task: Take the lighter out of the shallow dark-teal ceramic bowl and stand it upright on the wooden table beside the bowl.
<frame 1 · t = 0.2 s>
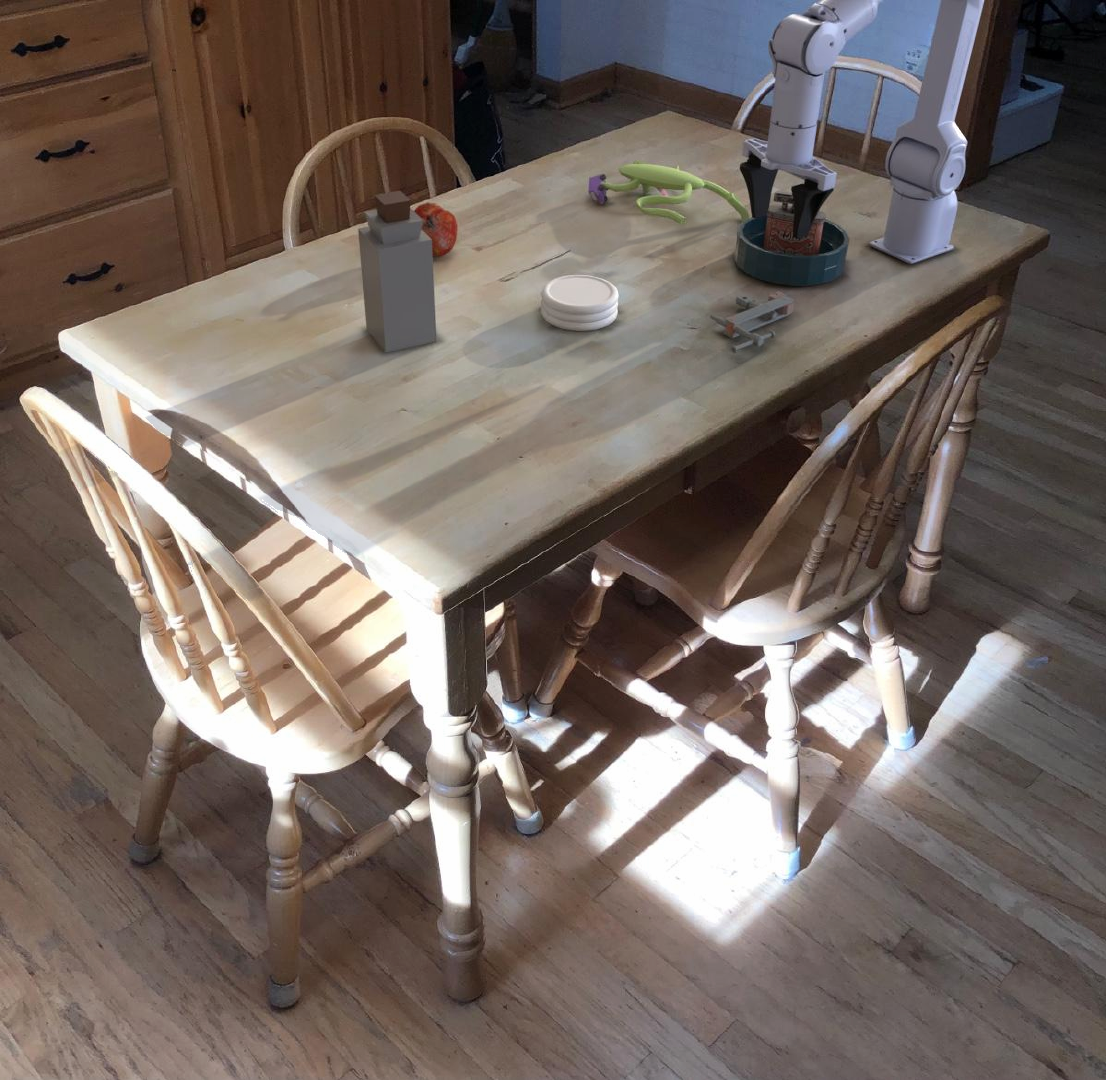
hand: (779, 226, 158), 10 cm above the table, tool pointing down, fingers open, 7 cm apart
clamp: (748, 329, 157), on the table
lighter: (789, 263, 173), resting on bowl
coaster: (579, 316, 159), on the table
bowl: (788, 264, 173), on the table
figurine: (664, 210, 188), on the table
pomegranate: (432, 254, 174), on the table
perfume bottle: (401, 336, 154), on the table
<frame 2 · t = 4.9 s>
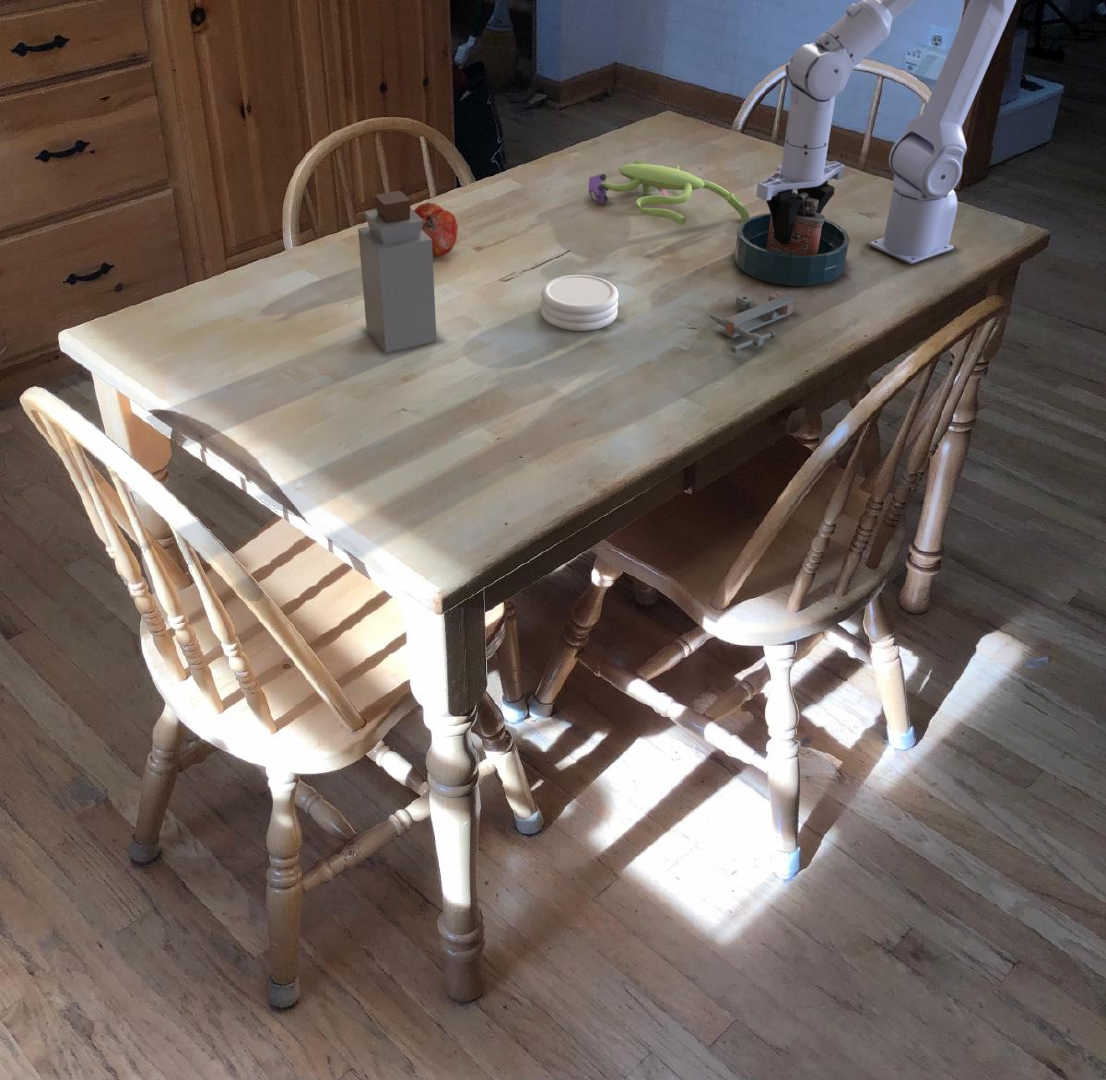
hand: (792, 238, 170), 4 cm above the table, tool pointing down, fingers closed on lighter, 4 cm apart
lighter: (789, 263, 172), resting on bowl, touching gripper
everything else where it was.
when the fingers open (4 cm above the table, at t = 10.1 s): lighter stays where it is, on the table.
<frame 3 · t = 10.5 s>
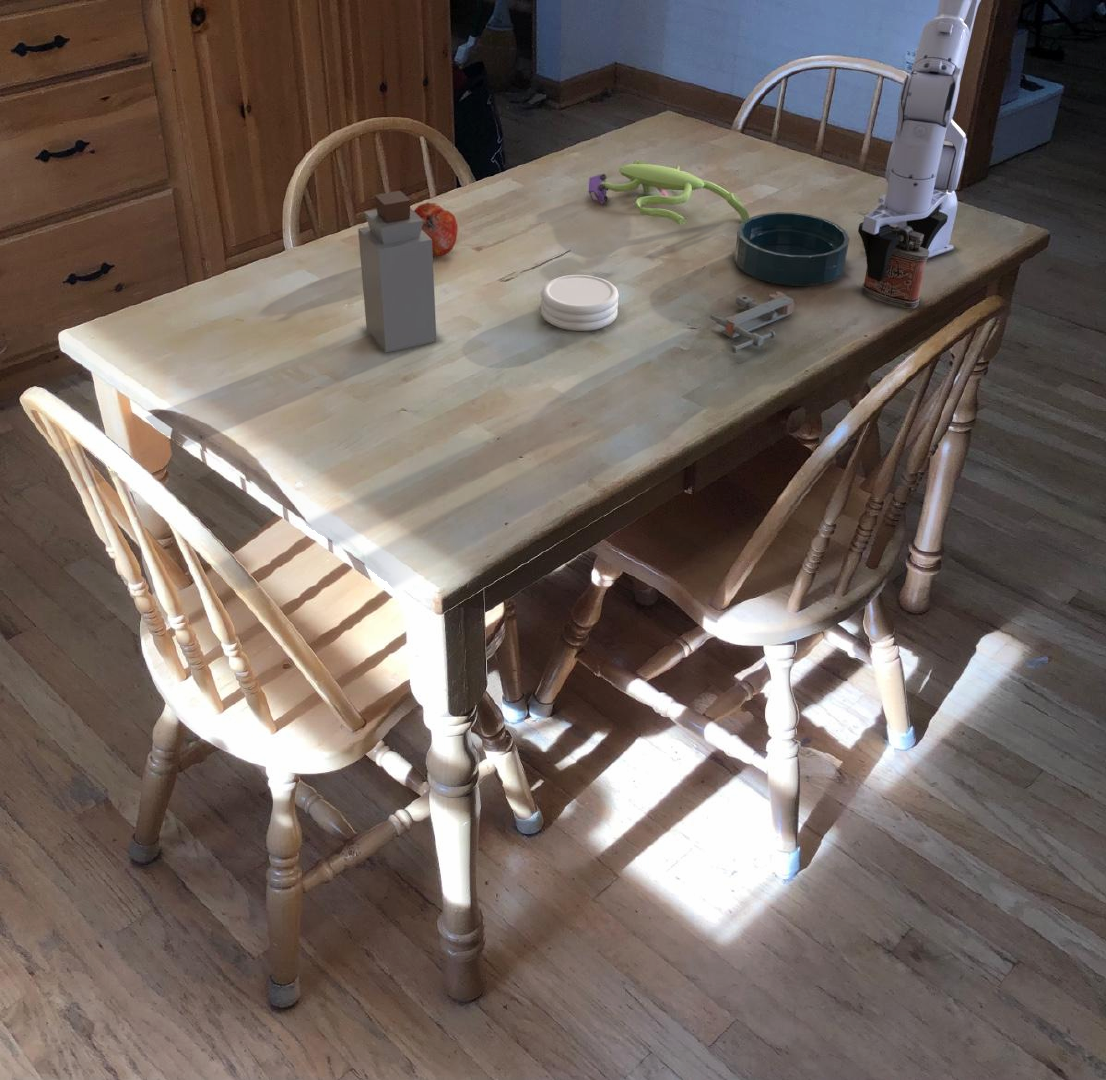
hand: (893, 271, 163), 4 cm above the table, tool pointing down, fingers open, 7 cm apart
lighter: (889, 298, 165), on the table
everything else where it was.
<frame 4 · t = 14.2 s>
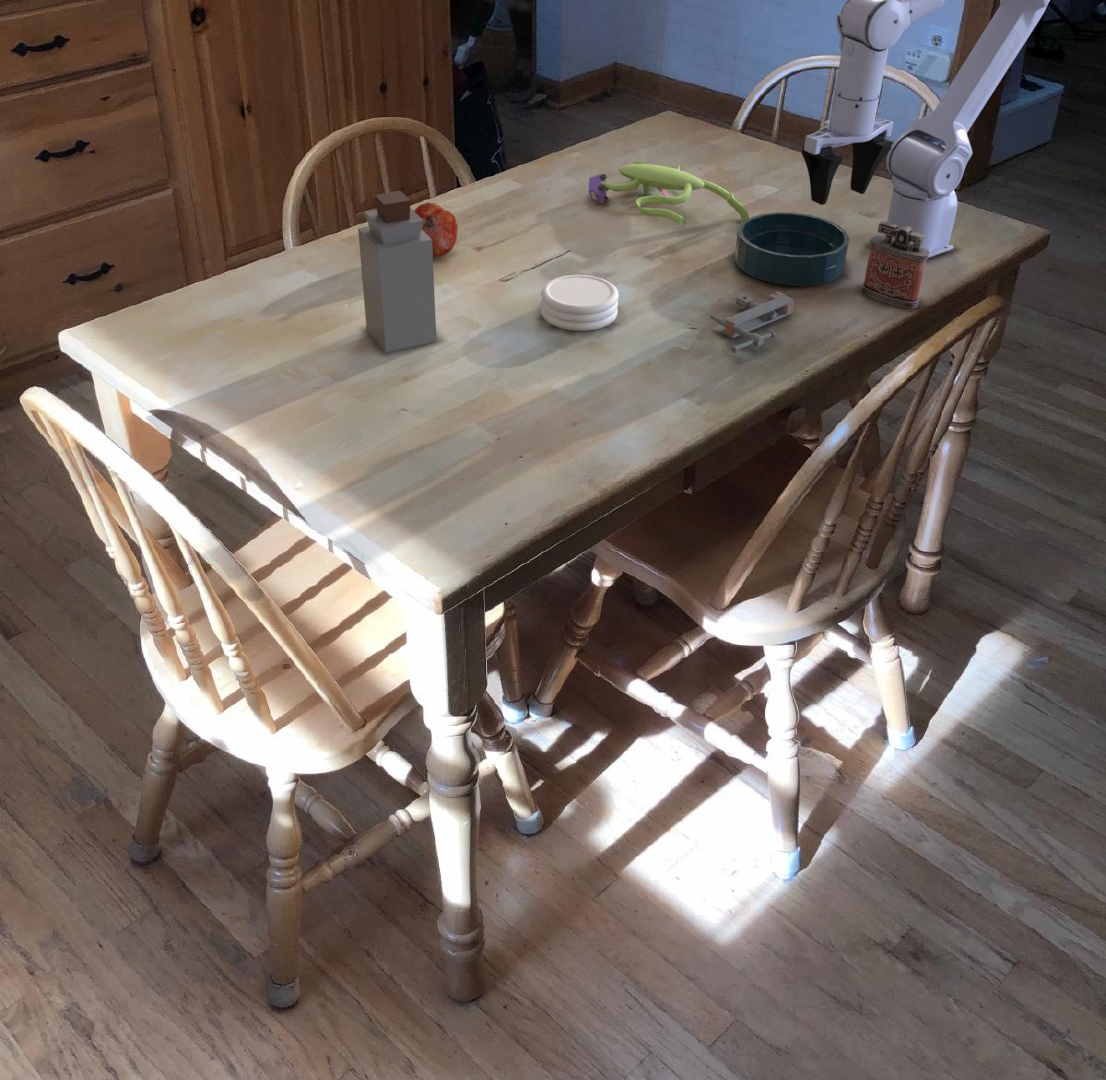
hand: (838, 196, 165), 10 cm above the table, tool pointing down, fingers open, 7 cm apart
nothing on the table moved.
at the end: lighter inside the target area on the table beside the bowl (0.3 cm from its centre), on the table; lighter tilted 0°; the gripper is holding nothing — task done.
